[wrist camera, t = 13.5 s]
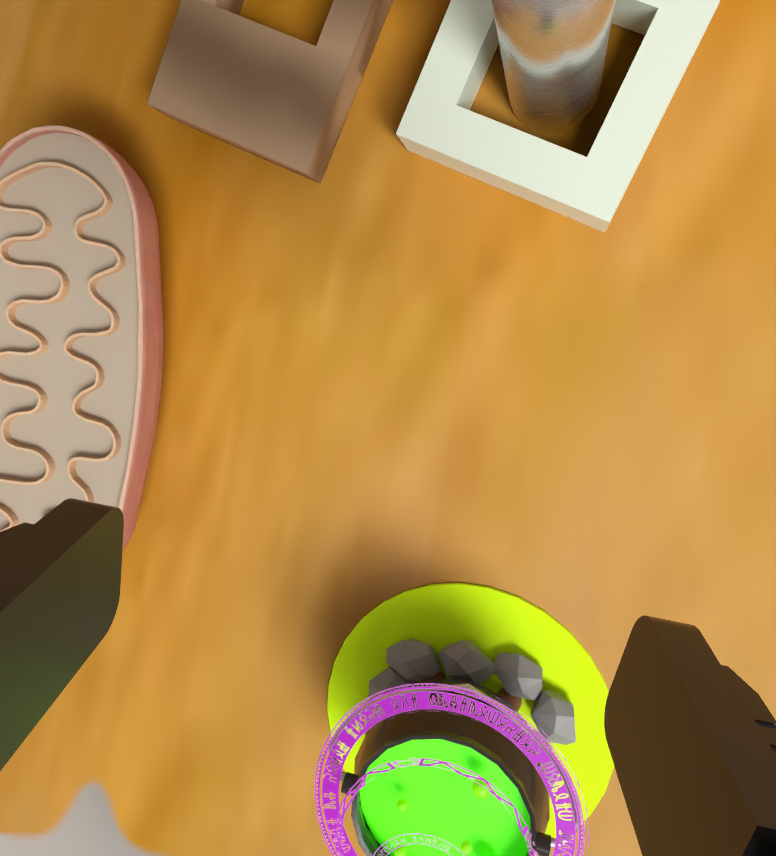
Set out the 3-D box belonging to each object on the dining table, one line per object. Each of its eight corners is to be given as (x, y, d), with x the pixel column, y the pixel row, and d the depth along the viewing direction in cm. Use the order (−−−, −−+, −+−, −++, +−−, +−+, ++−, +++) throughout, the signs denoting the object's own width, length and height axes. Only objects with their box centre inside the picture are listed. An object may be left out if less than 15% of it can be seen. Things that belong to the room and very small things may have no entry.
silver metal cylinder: (492, 114, 30) (441, -75, 17) (532, 24, 29) (514, -255, 16) (575, 147, 29) (593, -22, 16) (618, 55, 29) (676, -207, 15)
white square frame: (407, 150, 31) (395, 133, 29) (500, -71, 29) (495, -108, 27) (604, 232, 29) (609, 222, 27) (718, 4, 27) (734, -29, 25)
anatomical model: (52, 149, 36) (-25, 118, 31) (215, 162, 34) (159, 131, 29) (33, 545, 40) (-39, 573, 35) (179, 581, 37) (124, 615, 32)
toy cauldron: (646, 622, 31) (694, 762, 21) (584, 894, 34) (599, 1146, 23) (348, 552, 35) (258, 642, 24) (311, 804, 37) (213, 989, 26)
